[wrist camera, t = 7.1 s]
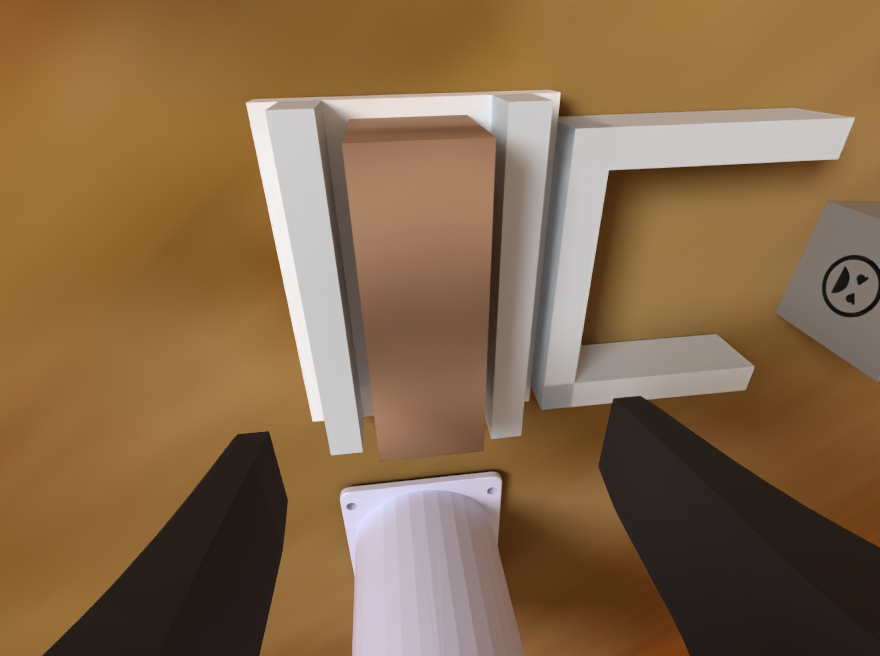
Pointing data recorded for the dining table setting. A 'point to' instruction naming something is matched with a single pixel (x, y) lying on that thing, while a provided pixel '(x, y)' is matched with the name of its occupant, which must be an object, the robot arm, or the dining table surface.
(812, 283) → the dice cube
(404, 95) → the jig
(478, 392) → the brown rectangular block
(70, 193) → the dining table surface
